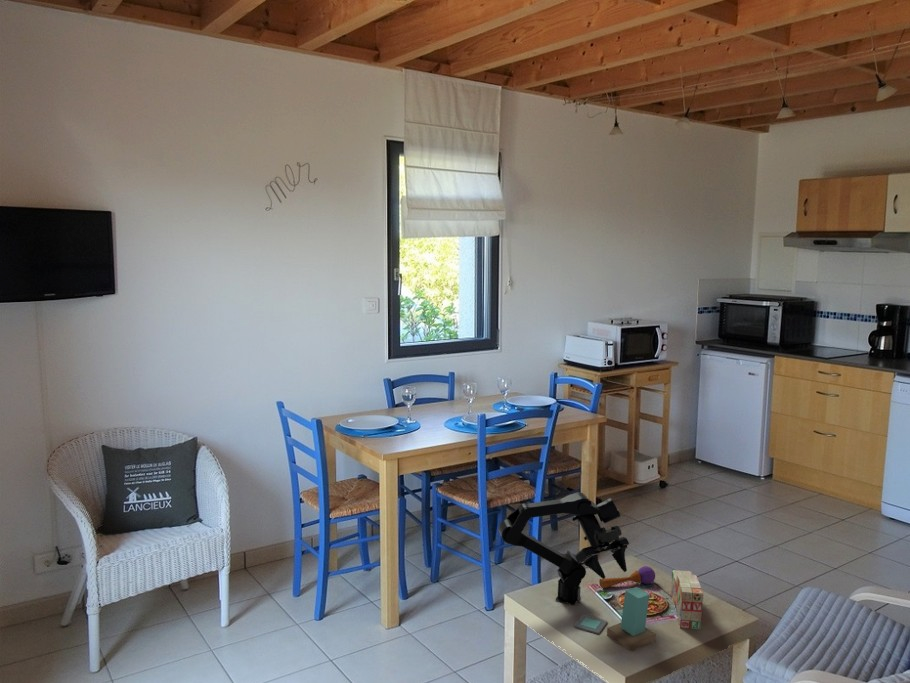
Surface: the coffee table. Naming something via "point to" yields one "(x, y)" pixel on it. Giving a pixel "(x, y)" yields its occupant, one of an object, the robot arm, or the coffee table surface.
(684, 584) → the stack of blocks
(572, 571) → the robot arm
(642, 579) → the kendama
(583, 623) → the slate tile
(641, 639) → the walnut slab
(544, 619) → the coffee table surface
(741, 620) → the coffee table surface
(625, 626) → the teal pillar
